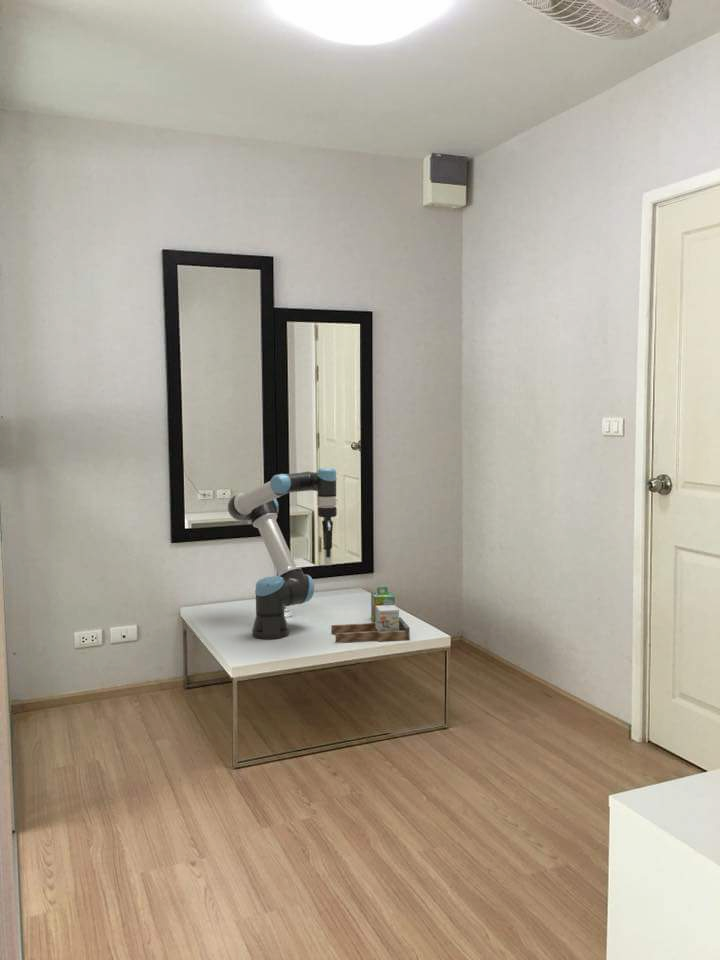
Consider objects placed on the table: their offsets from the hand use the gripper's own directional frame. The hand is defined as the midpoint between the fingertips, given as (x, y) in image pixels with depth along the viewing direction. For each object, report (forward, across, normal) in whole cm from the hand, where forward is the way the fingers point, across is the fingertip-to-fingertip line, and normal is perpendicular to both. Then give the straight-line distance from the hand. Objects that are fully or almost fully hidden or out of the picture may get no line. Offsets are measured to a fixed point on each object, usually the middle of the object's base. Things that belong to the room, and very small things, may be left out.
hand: (327, 564), depth 330 cm
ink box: (+31, 0, -24) cm, 39 cm away
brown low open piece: (+30, 0, -17) cm, 35 cm away
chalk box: (+31, +24, -27) cm, 47 cm away
